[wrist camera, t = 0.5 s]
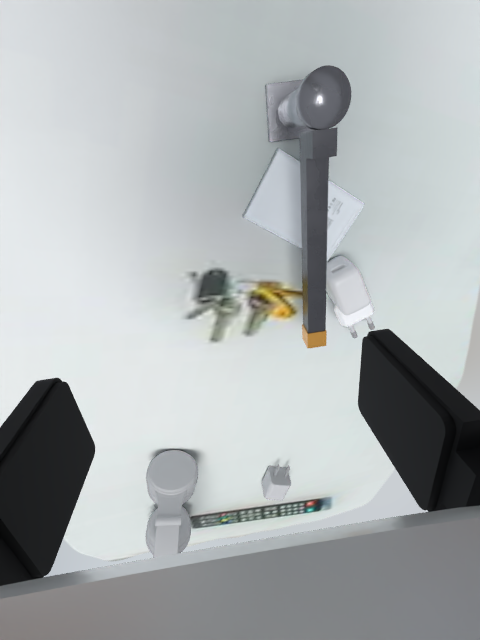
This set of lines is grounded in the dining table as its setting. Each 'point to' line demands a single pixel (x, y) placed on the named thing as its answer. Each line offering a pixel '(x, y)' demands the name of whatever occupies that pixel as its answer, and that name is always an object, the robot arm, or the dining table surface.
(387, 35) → the dining table surface
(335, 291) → the power adapter
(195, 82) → the dining table surface
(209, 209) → the dining table surface
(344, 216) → the external hard drive
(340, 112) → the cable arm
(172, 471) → the headphones
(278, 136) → the post
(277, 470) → the usb wall charger
